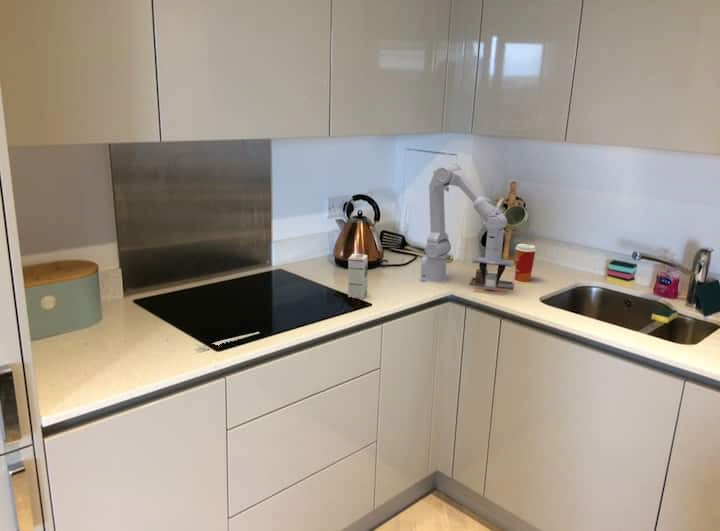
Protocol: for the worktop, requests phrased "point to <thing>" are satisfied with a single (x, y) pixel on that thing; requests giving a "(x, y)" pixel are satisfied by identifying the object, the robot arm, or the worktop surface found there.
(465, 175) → the robot arm
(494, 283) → the labelled block
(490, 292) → the rubber mat
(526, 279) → the paper cup
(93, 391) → the worktop surface
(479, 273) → the walnut block
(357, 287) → the syrup box
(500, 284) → the parts tray
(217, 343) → the fork
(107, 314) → the worktop surface
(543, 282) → the worktop surface
